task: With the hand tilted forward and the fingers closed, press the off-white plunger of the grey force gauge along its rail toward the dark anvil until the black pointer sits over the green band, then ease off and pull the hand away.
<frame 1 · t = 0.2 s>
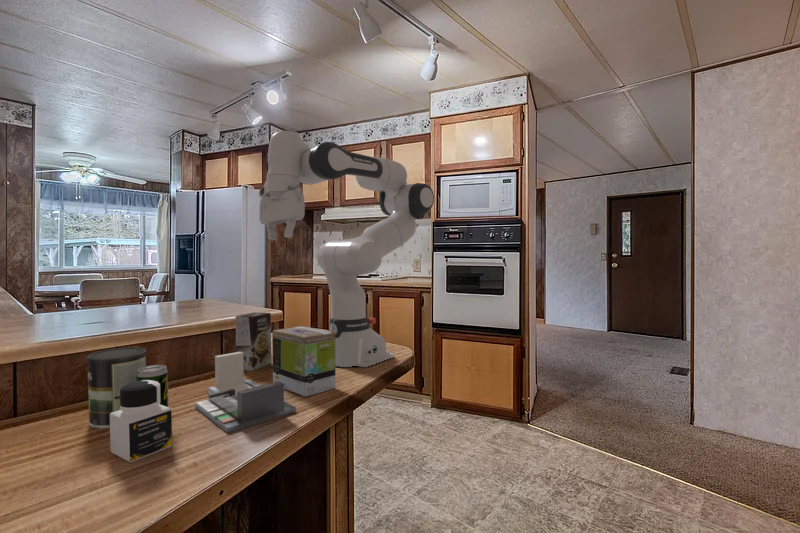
hand: (279, 238, 114), 39 cm above the counter, tool pointing down, fingers open, 8 cm apart
coffee box: (254, 367, 126), on the counter
medicine bottle: (141, 450, 73), on the counter
green drink can: (153, 428, 83), on the counter
plunger: (226, 380, 93), point 6 cm above the counter, slide at 0.0 cm
tea box: (303, 387, 108), on the counter
coffee can: (119, 419, 87), on the counter
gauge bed: (245, 409, 92), on the counter
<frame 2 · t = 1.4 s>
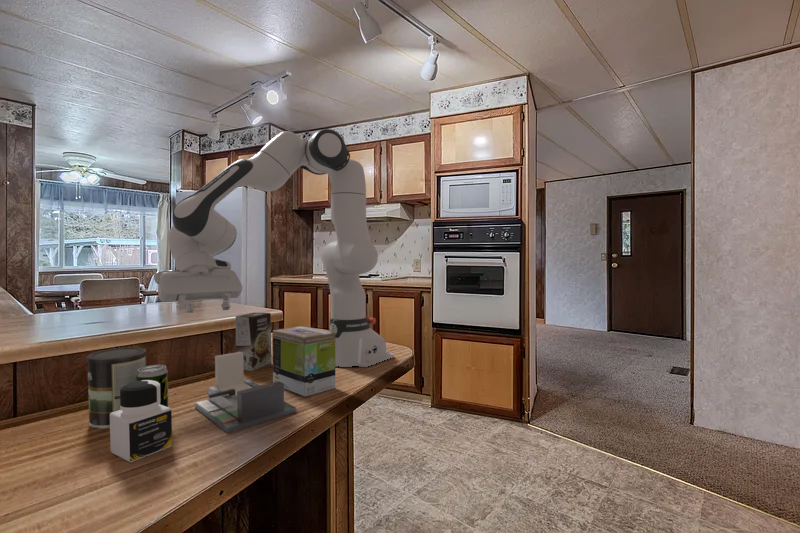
hand: (209, 310, 105), 20 cm above the counter, tool tilted 45°, fingers open, 8 cm apart
nothing on the counter moved.
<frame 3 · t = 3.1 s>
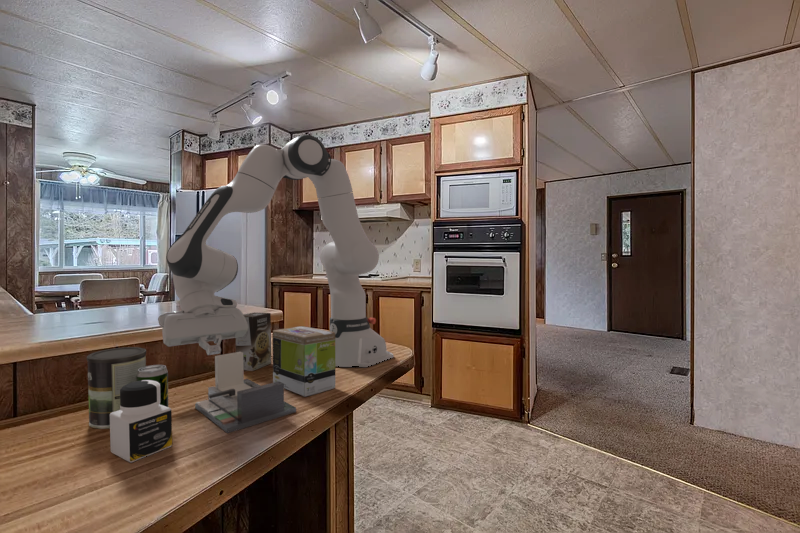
hand: (214, 353, 103), 10 cm above the counter, tool tilted 45°, fingers closed
nothing on the counter moved.
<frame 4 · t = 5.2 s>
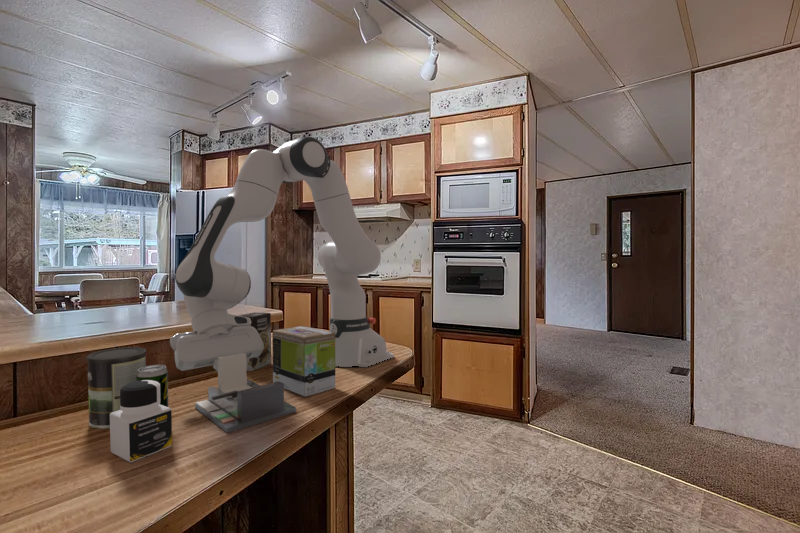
hand: (230, 376, 97), 6 cm above the counter, tool tilted 45°, fingers closed, pressing on plunger
plunger: (229, 381, 92), point 6 cm above the counter, slide at 1.7 cm, touching gripper
everything else where it was.
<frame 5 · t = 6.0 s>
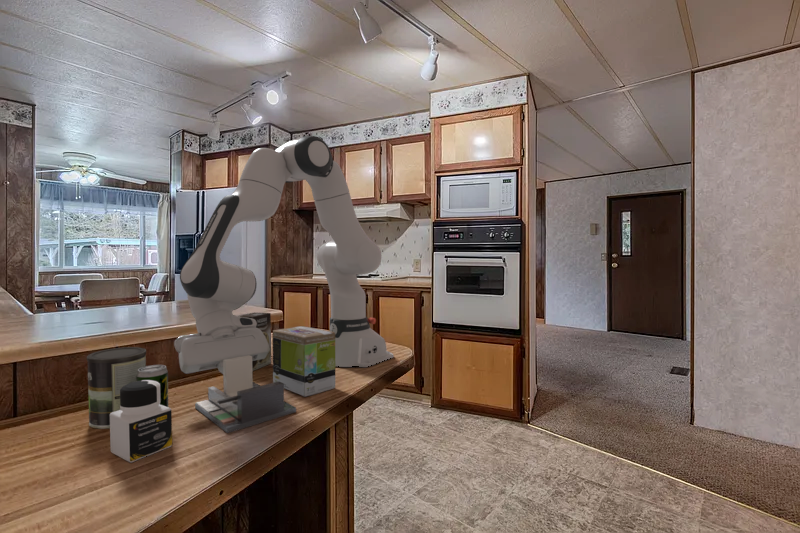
hand: (235, 379, 95), 6 cm above the counter, tool tilted 45°, fingers closed, pressing on plunger
plunger: (235, 385, 90), point 6 cm above the counter, slide at 4.8 cm, touching gripper
everything else where it was.
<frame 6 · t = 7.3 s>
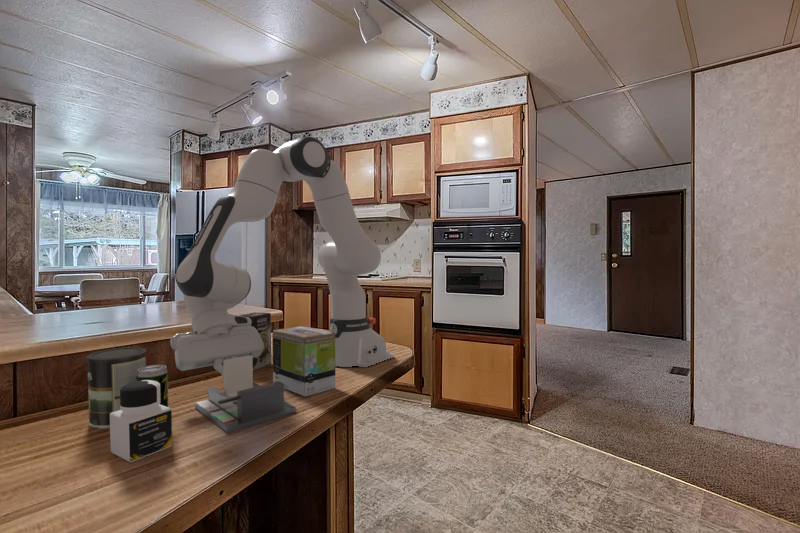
hand: (230, 376, 97), 6 cm above the counter, tool tilted 45°, fingers closed
plunger: (236, 385, 90), point 6 cm above the counter, slide at 5.0 cm
everything else where it was.
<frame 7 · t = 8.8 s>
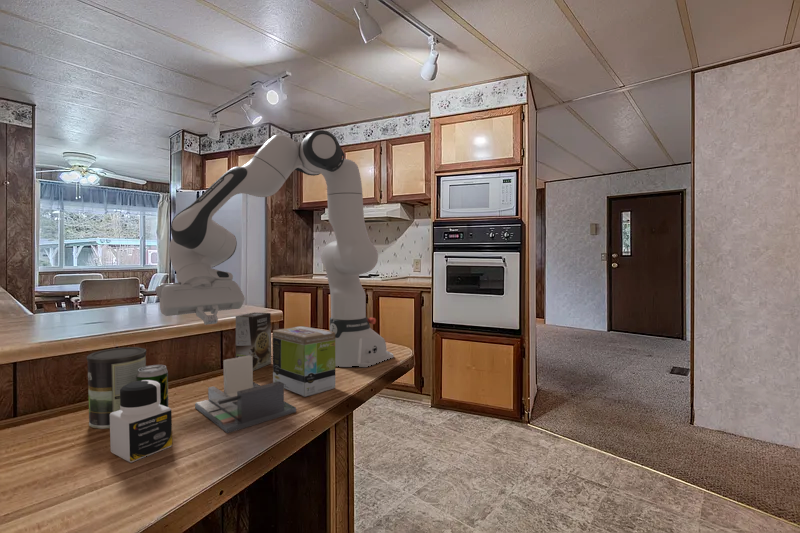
hand: (211, 322, 105), 17 cm above the counter, tool tilted 45°, fingers closed
nothing on the counter moved.
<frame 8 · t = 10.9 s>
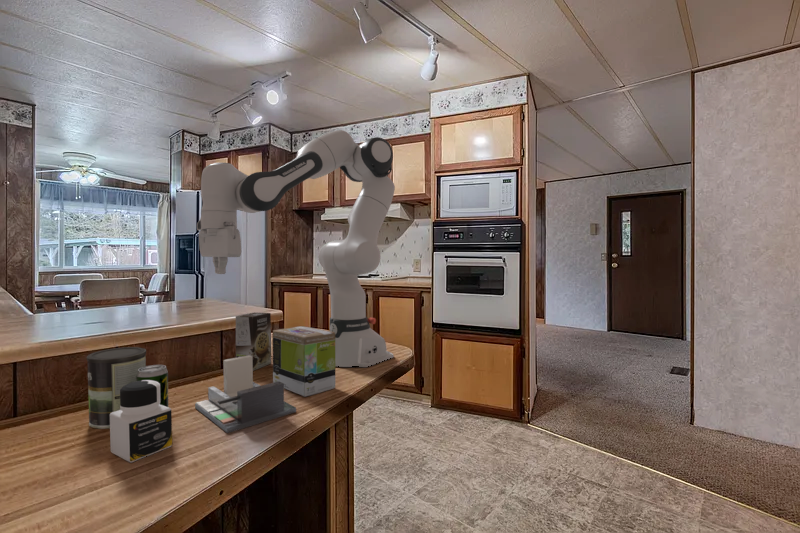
hand: (220, 273, 113), 29 cm above the counter, tool pointing down, fingers closed
nothing on the counter moved.
at the end: plunger slide at 5.0 cm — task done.
